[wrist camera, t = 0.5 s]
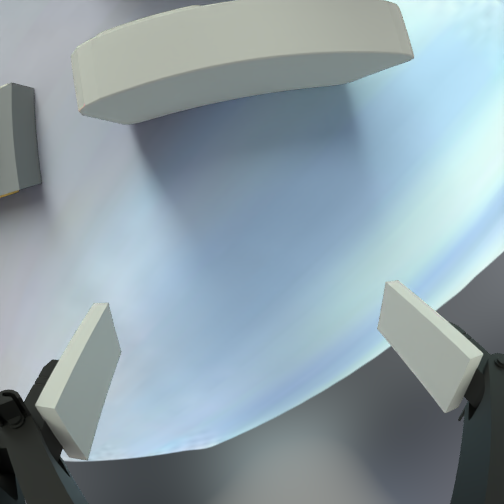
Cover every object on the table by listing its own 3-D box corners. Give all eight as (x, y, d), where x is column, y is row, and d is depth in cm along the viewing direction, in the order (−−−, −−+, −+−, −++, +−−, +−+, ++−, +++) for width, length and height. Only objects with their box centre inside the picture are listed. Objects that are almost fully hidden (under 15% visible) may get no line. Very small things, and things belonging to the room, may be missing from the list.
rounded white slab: (332, 35, 33) (402, -17, 16) (344, 85, 36) (426, 56, 19) (118, 73, 32) (58, 28, 15) (129, 126, 34) (68, 113, 18)
